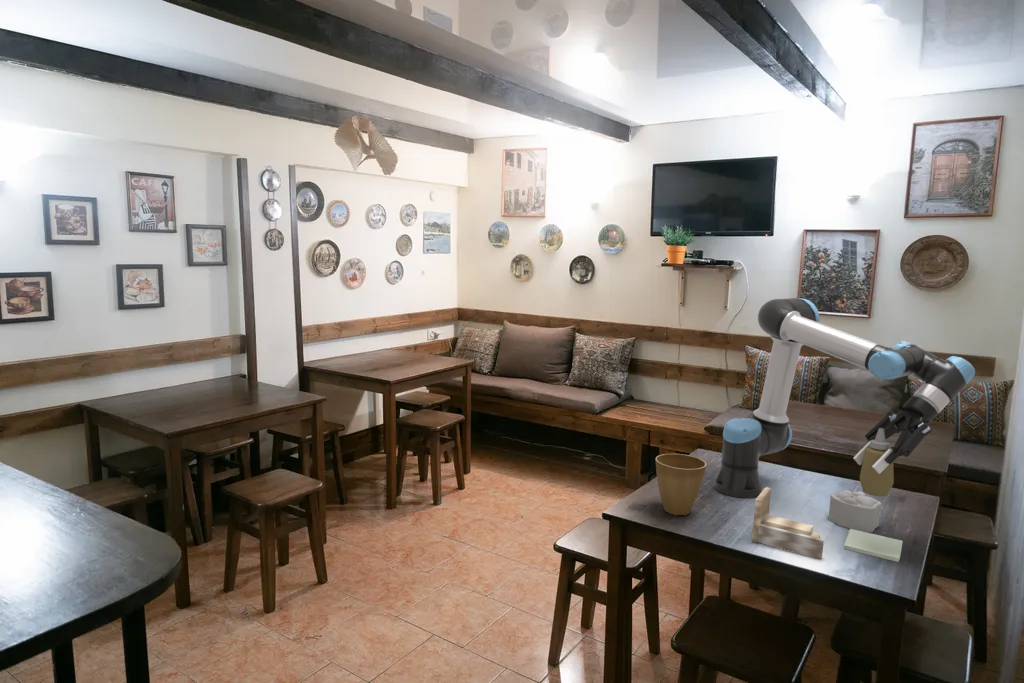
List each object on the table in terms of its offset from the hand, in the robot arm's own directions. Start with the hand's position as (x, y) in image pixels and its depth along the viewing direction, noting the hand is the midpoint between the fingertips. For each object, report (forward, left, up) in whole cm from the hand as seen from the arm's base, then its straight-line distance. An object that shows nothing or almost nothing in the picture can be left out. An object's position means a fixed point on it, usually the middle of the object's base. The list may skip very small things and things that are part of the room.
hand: (866, 465), depth 176 cm
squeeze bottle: (+3, +3, -8) cm, 9 cm away
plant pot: (-48, -6, -23) cm, 54 cm away
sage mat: (+4, +3, -23) cm, 23 cm away
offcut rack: (-16, -8, -23) cm, 29 cm away
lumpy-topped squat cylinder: (-3, +18, -23) cm, 29 cm away
